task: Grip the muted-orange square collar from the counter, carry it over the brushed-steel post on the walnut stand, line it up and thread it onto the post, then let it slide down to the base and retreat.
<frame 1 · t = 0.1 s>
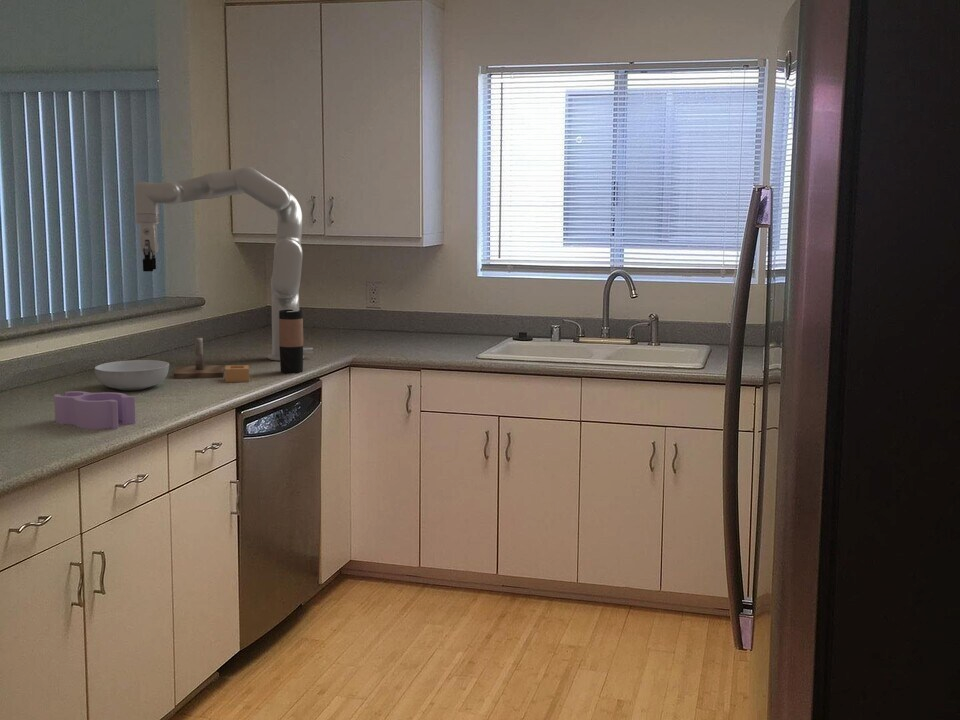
hand: (149, 270, 356), 31 cm above the countertop, tool pointing down, fingers open, 9 cm apart
collar: (237, 379, 326), on the countertop
travel mug: (291, 372, 342), on the countertop
serving bowl: (133, 388, 311), on the countertop
clip: (93, 424, 263), on the countertop
post stand: (199, 373, 336), on the countertop
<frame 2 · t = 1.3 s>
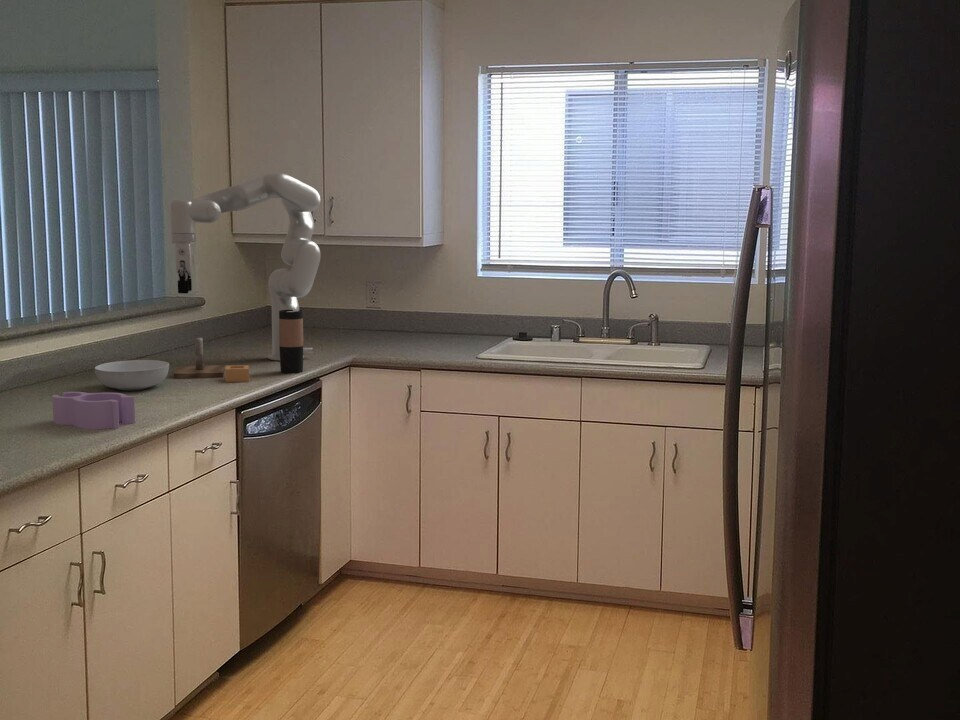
hand: (185, 292, 341), 25 cm above the countertop, tool pointing down, fingers open, 9 cm apart
nothing on the countertop moved.
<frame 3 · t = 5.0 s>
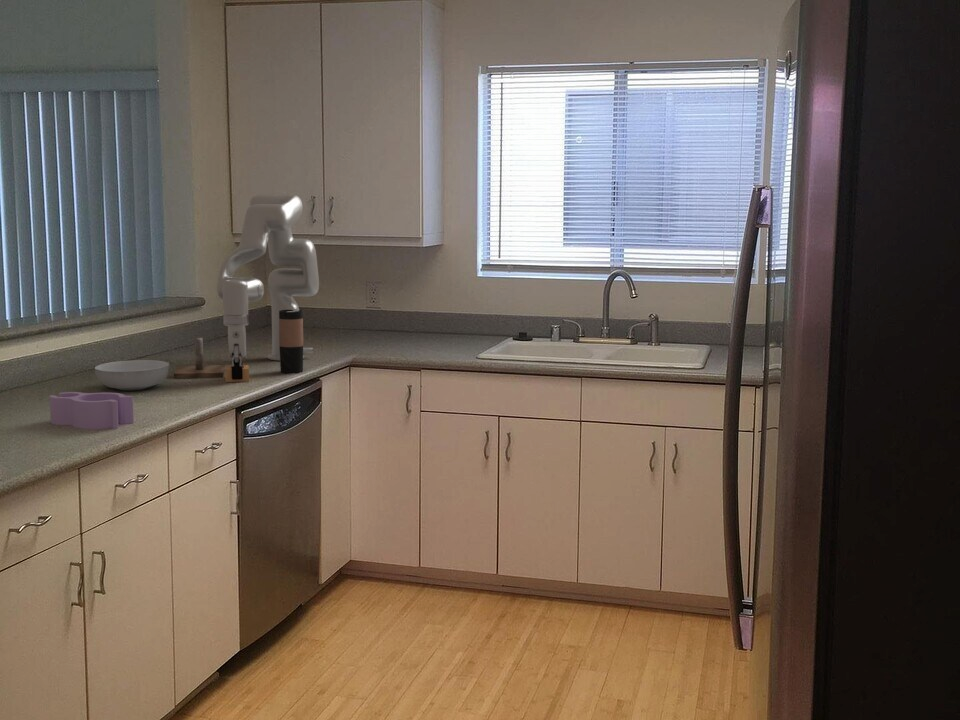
hand: (237, 376, 326), 1 cm above the countertop, tool pointing down, fingers closed on collar, 7 cm apart
collar: (237, 379, 326), on the countertop, touching gripper
everything else where it was.
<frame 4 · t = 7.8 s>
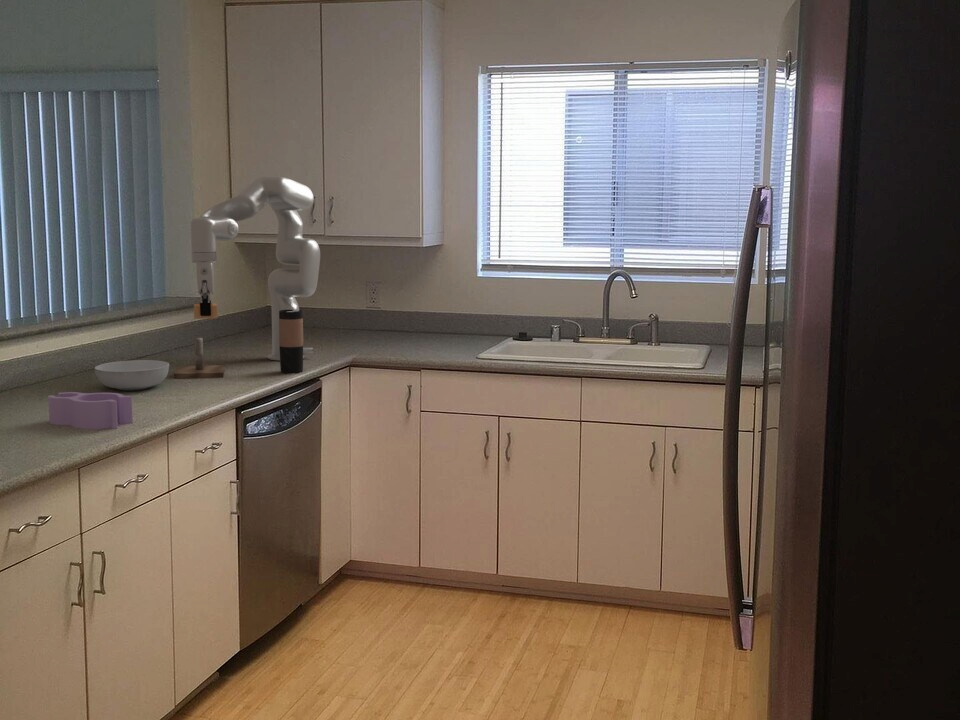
hand: (205, 314, 331), 20 cm above the countertop, tool pointing down, fingers closed on collar, 7 cm apart
collar: (206, 317, 331), point 19 cm above the countertop, touching gripper
everything else where it was.
when the fingers open (10 cm above the countertop, at t = 10.7 s): collar drops 8 cm, resting on post stand.
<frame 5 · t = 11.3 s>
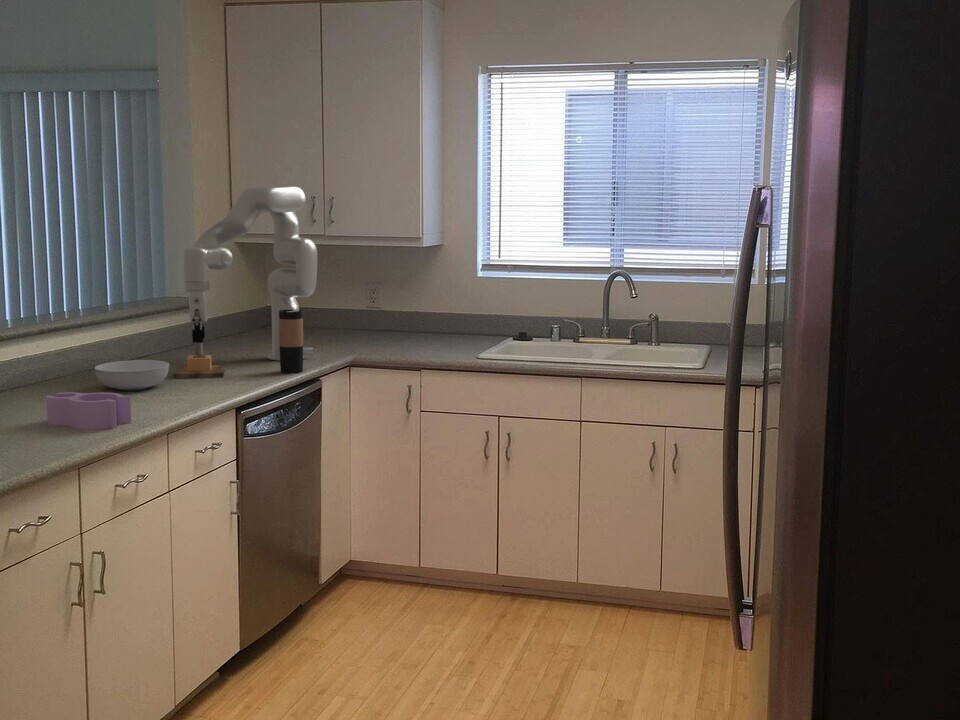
hand: (198, 340, 335), 11 cm above the countertop, tool pointing down, fingers open, 9 cm apart
collar: (199, 369, 336), point 1 cm above the countertop, touching post stand
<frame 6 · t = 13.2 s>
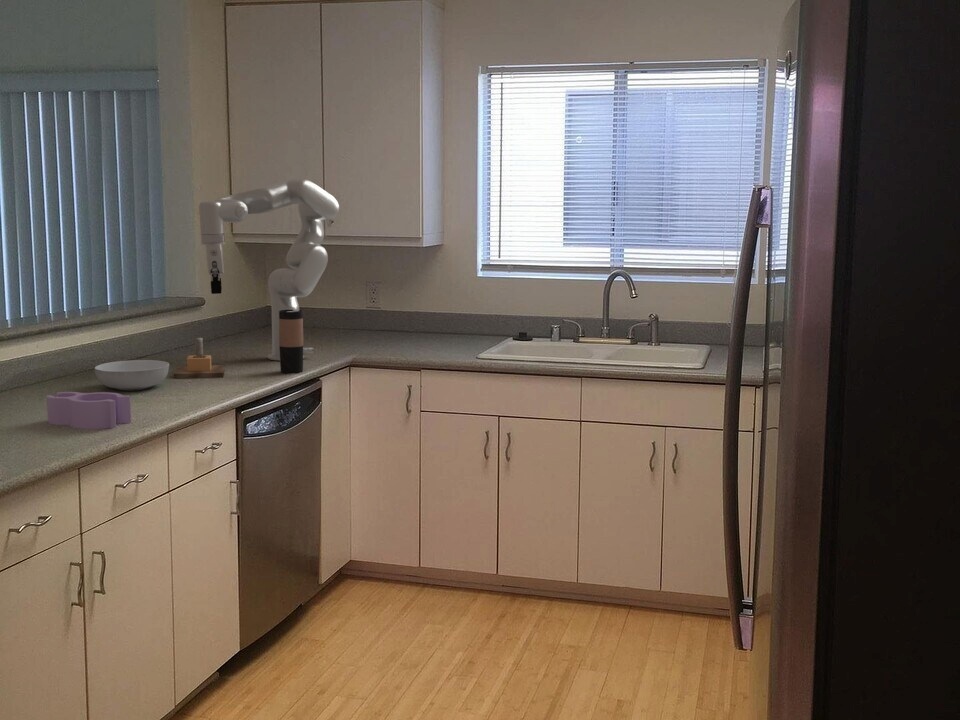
hand: (216, 291, 345), 25 cm above the countertop, tool pointing down, fingers open, 9 cm apart
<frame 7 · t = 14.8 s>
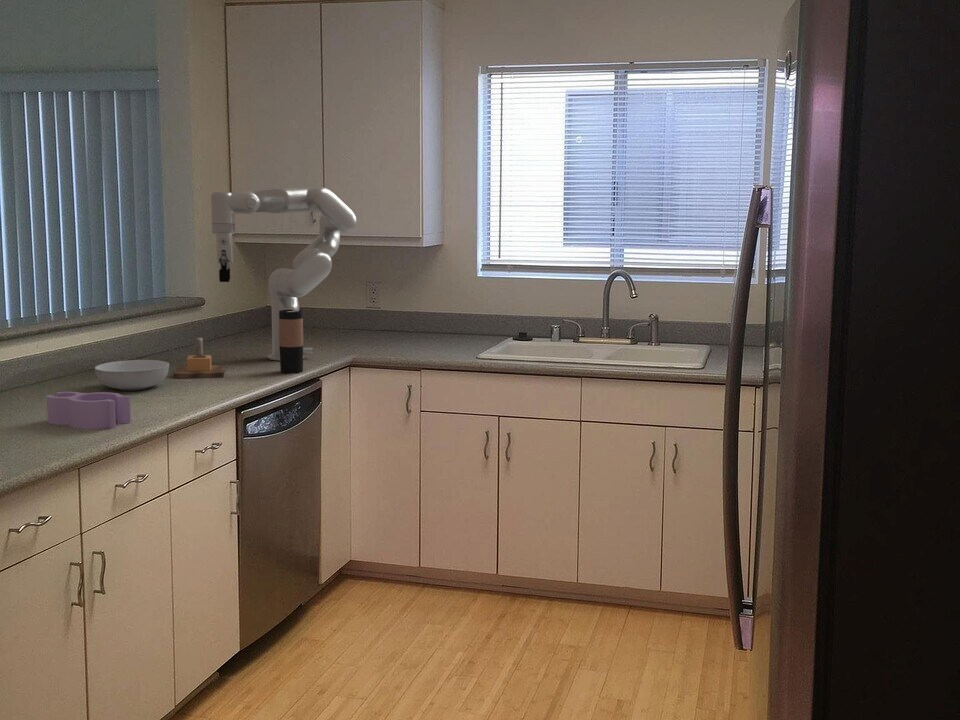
hand: (224, 280, 352), 28 cm above the countertop, tool pointing down, fingers open, 9 cm apart
at the end: collar 0.0 cm from the post stand (horizontally); collar point 1.5 cm above the countertop; the gripper is holding nothing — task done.
